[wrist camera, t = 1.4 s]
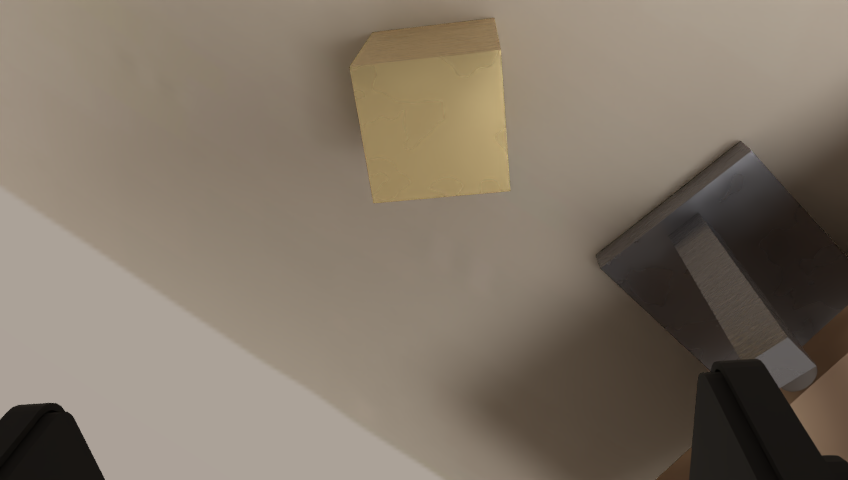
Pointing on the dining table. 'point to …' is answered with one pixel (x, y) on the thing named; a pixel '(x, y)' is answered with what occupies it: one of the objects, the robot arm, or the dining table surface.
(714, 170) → the beam stand
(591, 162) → the dining table surface
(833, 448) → the balance beam
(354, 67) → the tan wooden cube
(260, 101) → the dining table surface
